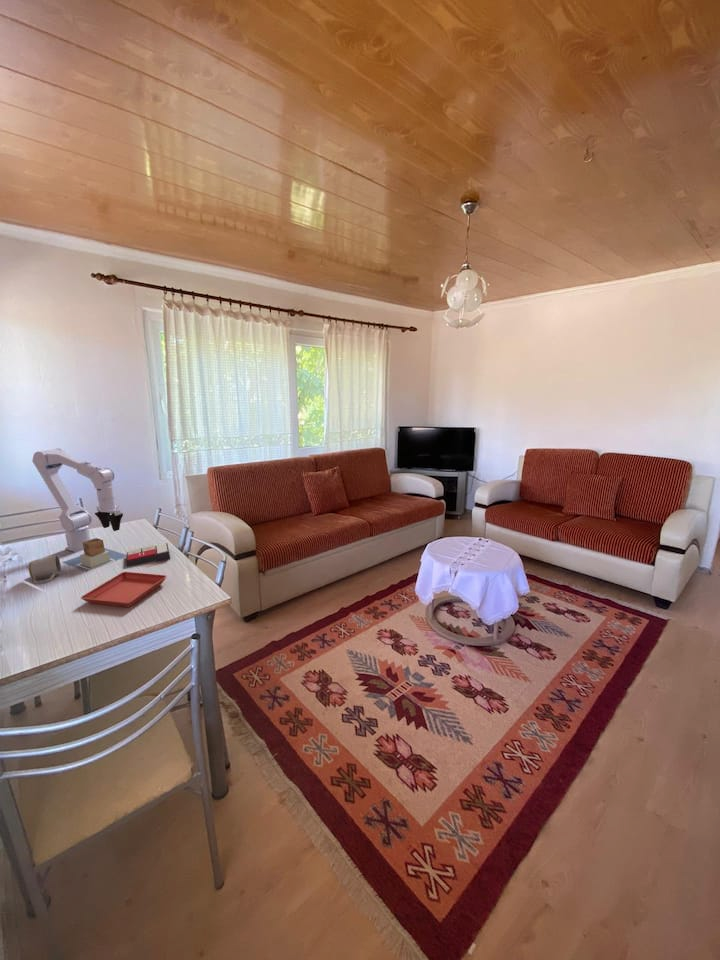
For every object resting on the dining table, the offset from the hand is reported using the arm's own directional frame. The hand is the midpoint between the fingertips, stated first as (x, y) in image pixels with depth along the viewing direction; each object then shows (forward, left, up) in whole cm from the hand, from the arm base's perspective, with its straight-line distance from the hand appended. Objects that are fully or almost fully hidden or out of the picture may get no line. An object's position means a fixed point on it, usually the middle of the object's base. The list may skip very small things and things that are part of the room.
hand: (111, 528), depth 163 cm
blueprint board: (+3, -9, -10) cm, 14 cm away
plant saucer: (+41, -19, -11) cm, 47 cm away
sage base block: (+7, -11, -9) cm, 16 cm away
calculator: (+21, +2, -11) cm, 24 cm away
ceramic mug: (+4, -26, -10) cm, 28 cm away
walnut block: (+7, -11, -5) cm, 14 cm away
